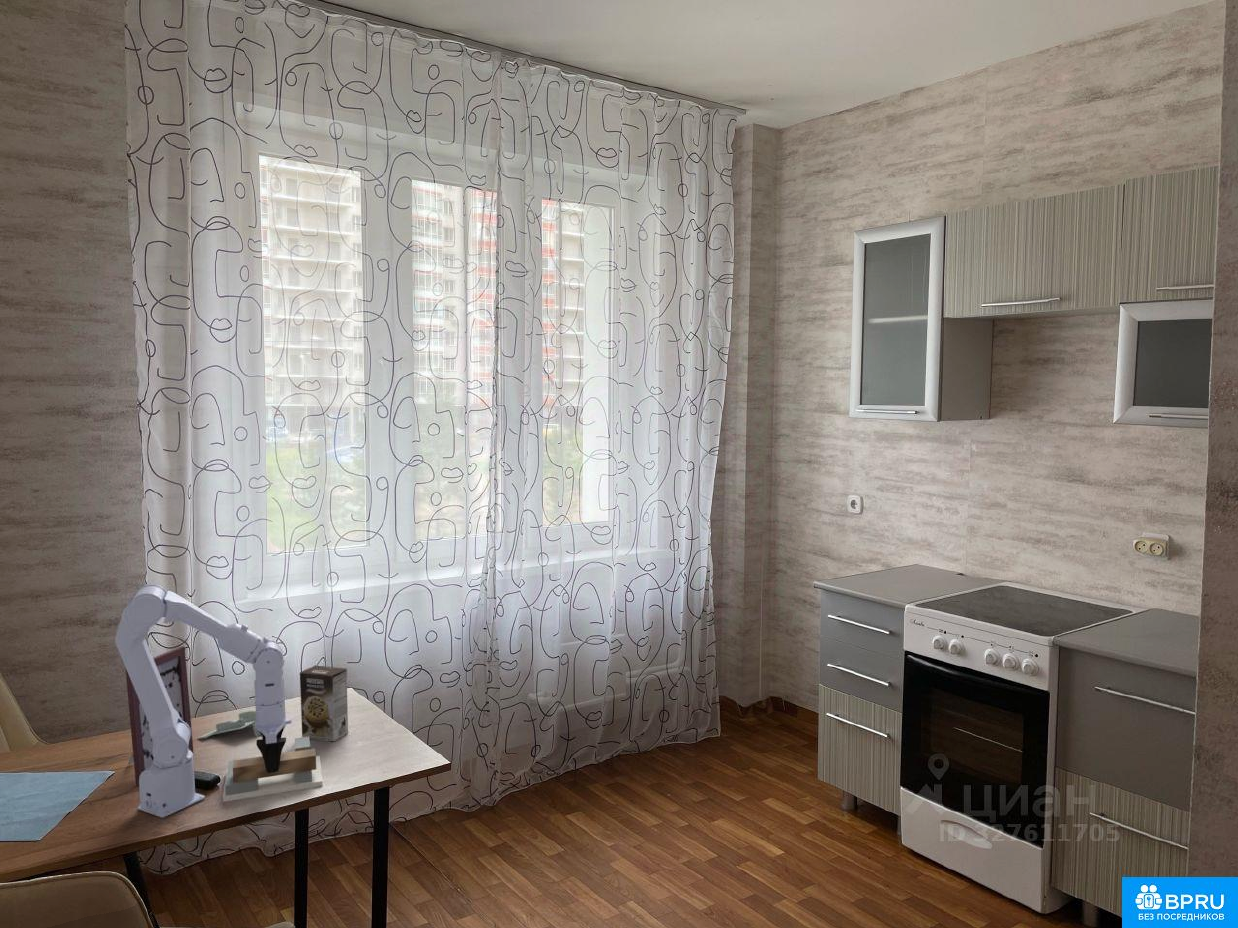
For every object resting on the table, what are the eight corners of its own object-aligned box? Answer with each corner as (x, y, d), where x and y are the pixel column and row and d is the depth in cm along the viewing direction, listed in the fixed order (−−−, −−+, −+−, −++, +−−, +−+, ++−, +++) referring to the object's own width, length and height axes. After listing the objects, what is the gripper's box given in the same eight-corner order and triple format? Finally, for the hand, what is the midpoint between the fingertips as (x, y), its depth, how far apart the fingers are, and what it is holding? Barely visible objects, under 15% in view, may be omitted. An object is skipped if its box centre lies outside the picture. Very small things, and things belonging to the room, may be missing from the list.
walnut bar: (233, 782, 179) (232, 767, 179) (234, 774, 183) (233, 760, 182) (316, 769, 185) (315, 755, 184) (315, 761, 188) (315, 748, 188)
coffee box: (300, 738, 209) (298, 672, 208) (317, 728, 215) (314, 664, 214) (333, 742, 206) (331, 675, 205) (349, 732, 213) (347, 667, 211)
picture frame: (140, 785, 185) (133, 669, 183) (100, 781, 187) (93, 666, 185) (193, 753, 201) (188, 646, 199) (156, 750, 203) (150, 644, 201)
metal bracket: (281, 701, 219) (235, 722, 205) (287, 724, 219) (242, 747, 205) (238, 710, 224) (191, 732, 210) (244, 732, 224) (197, 755, 210)
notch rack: (223, 801, 177) (221, 772, 176) (226, 773, 190) (225, 746, 189) (322, 785, 184) (321, 757, 183) (319, 759, 197) (318, 733, 196)
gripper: (291, 709, 177) (293, 774, 178) (290, 687, 190) (292, 748, 192) (253, 714, 174) (256, 780, 176) (255, 691, 188) (257, 753, 189)
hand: (272, 764), depth 183 cm, fingers open, 7 cm apart
